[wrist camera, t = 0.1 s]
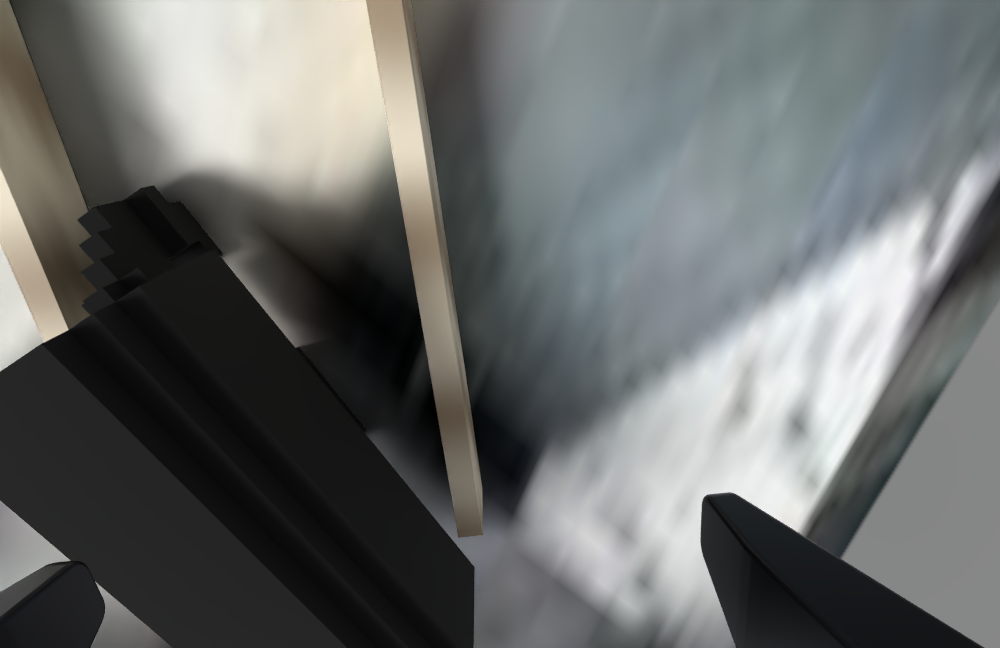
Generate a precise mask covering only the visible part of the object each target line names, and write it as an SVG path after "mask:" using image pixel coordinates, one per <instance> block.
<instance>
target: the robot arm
mask: <svg viewBox="0 0 1000 648" xmlns="http://www.w3.org/2000/svg"><path fill="white" fill-rule="evenodd" d="M701 548H702V553H703V557H704V560H705V563H706V565H707V568H708V571H709V574H710V576H711V579H712V582H713V585H714V587H715V590H716V593H717V596H718V599H719V601H720V604H721V607H722V610H723V612H724V615H725V618H726V621H727V623H728V626H729V629H730V632H731V634H732V637H733V640H734V643H735V646H736V648H984V647H982V646H981V645H979V644H977V643H976V642H974V641H973V640H971V639H969V638H968V637H966V636H964V635H963V634H961V633H960V632H958V631H956V630H955V629H953V628H951V627H950V626H948V625H947V624H945V623H943V622H942V621H940V620H939V619H937V618H935V617H934V616H932V615H931V614H929V613H927V612H925V611H924V610H922V609H921V608H919V607H918V606H916V605H914V604H913V603H911V602H910V601H908V600H906V599H905V598H903V597H901V596H900V595H898V594H897V593H895V592H893V591H892V590H890V589H888V588H887V587H885V586H884V585H882V584H880V583H879V582H877V581H876V580H874V579H872V578H871V577H869V576H867V575H865V574H864V573H863V572H861V571H859V570H858V569H856V568H854V567H853V566H851V565H849V564H848V563H846V562H845V561H843V560H842V559H840V558H838V557H837V556H835V555H834V554H832V553H830V552H829V551H827V550H825V549H824V548H822V547H821V546H819V545H817V544H816V543H814V542H813V541H811V540H809V539H808V538H806V537H804V536H803V535H801V534H800V533H798V532H796V531H795V530H793V529H792V528H790V527H788V526H787V525H785V524H783V523H782V522H780V521H779V520H777V519H775V518H774V517H772V516H770V515H769V514H767V513H766V512H764V511H762V510H761V509H759V508H758V507H756V506H754V505H753V504H751V503H749V502H748V501H746V500H745V499H743V498H741V497H740V496H738V495H736V494H734V493H719V494H709V495H706V496H705V497H704V498H703V501H702V514H701ZM104 613H105V603H104V600H103V597H102V595H101V593H100V591H99V589H98V587H97V585H96V583H95V581H94V578H93V576H92V574H91V572H90V570H89V568H88V566H87V565H86V564H85V563H83V562H82V561H66V562H57V563H52V564H49V565H46V566H44V567H42V568H41V569H39V570H37V571H36V572H34V573H32V574H30V575H29V576H27V577H25V578H24V579H22V580H20V581H18V582H17V583H15V584H13V585H12V586H10V587H8V588H7V589H5V590H3V591H1V592H0V648H90V647H91V645H92V643H93V640H94V638H95V636H96V634H97V632H98V629H99V627H100V625H101V623H102V620H103V617H104Z"/></svg>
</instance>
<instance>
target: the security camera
mask: <svg viewBox="0 0 1000 648" xmlns="http://www.w3.org/2000/svg"><path fill="white" fill-rule="evenodd" d="M77 221H78V222H79V223H80V224H81V225H82V226H83V227H84V228H85V229H86V231H87V232H88V233H89V234H90V235H91V237H90V238H88V239H87V240H85V241H84V242H83V243H81V244H80V245H79V246H80V247H81V248H82V250H83V251H84V252H85V253H86V254H87V255H88V256H89V257H90V258H91V259H92V261H93V262H94V263H93V264H92V265H90V266H89V267H87V268H86V269H84V270H83V271H82V272H81V273H82V274H83V275H84V277H85V278H86V279H87V280H88V281H89V282H90V283H91V284H92V285H93V286H94V287H95V288H96V290H97V291H96V292H95V293H93V294H92V295H90V296H89V297H87V298H86V299H85V300H83V302H84V304H83V305H81V306H82V307H83V308H84V309H85V310H86V311H87V312H88V313H89V314H90V316H88V317H87V318H85V319H84V320H82V321H81V322H79V323H78V324H76V325H75V326H73V327H72V328H70V329H69V330H67V331H66V332H64V333H62V334H60V335H58V336H56V337H54V338H52V339H50V340H48V341H46V342H44V343H42V344H41V345H39V346H38V347H36V348H35V349H33V350H32V351H30V352H29V353H27V354H26V355H24V356H23V357H21V358H20V359H18V360H17V361H15V362H14V363H12V364H11V365H9V366H8V367H7V368H5V369H4V370H2V371H1V372H0V501H2V502H3V503H4V504H5V505H6V506H8V507H9V508H10V509H11V510H12V511H13V512H15V513H16V514H17V515H18V516H19V517H20V518H22V519H23V520H24V521H25V522H26V523H27V524H29V525H30V526H31V527H32V528H33V529H35V530H36V531H37V532H38V533H39V534H40V535H42V536H43V537H44V538H45V539H46V540H47V541H49V542H50V543H51V544H52V545H53V546H54V547H56V548H57V549H58V550H59V551H60V552H62V553H63V554H64V555H65V556H66V557H67V558H69V559H70V560H71V561H82V562H83V563H85V564H86V565H87V566H88V568H89V570H90V572H91V574H92V576H93V578H94V581H96V582H97V583H98V584H99V585H100V586H101V587H103V588H104V589H105V590H106V591H107V592H108V593H110V594H111V595H112V596H113V597H114V598H115V599H117V600H118V601H119V602H120V603H121V604H123V605H124V606H125V607H126V608H127V609H128V610H130V611H131V612H132V613H133V614H134V615H135V616H137V617H138V618H139V619H140V620H141V621H142V622H144V623H145V624H146V625H147V626H148V627H150V628H151V629H152V630H153V631H154V632H155V633H157V634H158V635H159V636H160V637H161V638H162V639H164V640H165V641H166V642H167V643H168V644H169V645H171V646H172V647H173V648H473V645H474V566H473V565H472V564H471V562H470V561H469V560H468V559H467V558H466V556H465V555H464V554H463V553H462V551H461V550H460V549H459V548H458V547H457V545H456V544H455V543H454V542H453V540H452V539H451V538H450V537H449V536H448V534H447V533H446V532H445V531H444V529H443V528H442V527H441V526H440V525H439V523H438V522H437V521H436V520H435V518H434V517H433V516H432V515H431V514H430V512H429V511H428V510H427V509H426V507H425V506H424V505H423V504H422V503H421V501H420V500H419V499H418V498H417V496H416V495H415V494H414V493H413V492H412V490H411V489H410V488H409V487H408V485H407V484H406V483H405V482H404V481H403V479H402V478H401V477H400V476H399V474H398V473H397V472H396V471H395V470H394V468H393V467H392V466H391V465H390V463H389V462H388V461H387V460H386V459H385V457H384V456H383V455H382V454H381V452H380V451H379V450H378V449H377V448H376V446H375V445H374V444H373V443H372V441H371V440H370V439H369V438H368V436H367V435H366V434H365V433H364V432H365V427H364V426H363V425H362V424H361V423H360V421H359V420H358V419H357V418H356V416H355V415H354V414H353V413H352V412H351V410H350V409H349V408H348V407H347V405H346V404H345V403H344V402H343V400H342V399H341V398H340V397H339V396H338V394H337V393H336V392H335V391H334V389H333V388H332V387H331V386H330V384H329V383H328V382H327V381H326V380H325V378H324V377H323V376H322V375H321V373H320V372H319V371H318V370H317V369H316V367H315V366H314V365H313V364H312V362H311V361H310V360H309V359H308V357H307V356H306V355H305V354H304V353H303V351H302V350H301V349H300V348H299V347H298V348H295V347H294V346H293V345H292V344H291V342H290V341H289V340H288V339H287V337H286V336H285V335H284V334H283V333H282V331H281V330H280V329H279V328H278V326H277V325H276V324H275V323H274V322H273V320H272V319H271V318H270V317H269V315H268V314H267V313H266V312H265V311H264V309H263V308H262V307H261V306H260V304H259V303H258V302H257V301H256V300H255V298H254V297H253V296H252V295H251V293H250V292H249V291H248V290H247V289H246V287H245V286H244V285H243V284H242V282H241V281H240V280H239V279H238V278H237V276H236V275H235V274H234V273H233V271H232V270H231V269H230V268H229V267H228V265H227V264H226V263H225V262H224V260H223V259H222V258H221V257H220V256H219V255H221V254H222V252H221V251H220V249H219V248H218V247H217V246H216V245H215V243H214V242H213V241H212V240H211V238H210V237H209V236H208V235H207V233H206V232H205V231H204V230H203V229H202V227H201V226H200V225H199V224H198V222H197V221H196V220H195V219H194V217H193V216H192V215H191V214H190V213H189V211H188V210H187V209H186V208H185V206H184V205H183V204H182V203H181V202H176V203H172V204H169V203H168V202H167V201H166V200H165V199H164V197H163V196H162V195H161V194H160V192H159V191H158V190H157V189H156V188H155V186H149V187H145V188H141V189H139V190H138V191H137V192H135V193H134V194H132V195H131V196H129V197H128V198H127V199H125V200H123V201H119V202H114V203H110V204H105V205H101V206H97V207H94V208H92V209H91V210H90V211H88V212H87V213H85V214H84V215H83V216H81V217H80V218H79V219H77Z"/></svg>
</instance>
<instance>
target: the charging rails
mask: <svg viewBox="0 0 1000 648" xmlns="http://www.w3.org/2000/svg"><path fill="white" fill-rule="evenodd" d="M366 3H367V8H368V14H369V20H370V26H371V32H372V37H373V43H374V49H375V55H376V61H377V67H378V72H379V78H380V84H381V90H382V96H383V101H384V107H385V113H386V119H387V125H388V130H389V136H390V142H391V148H392V154H393V160H394V165H395V171H396V177H397V183H398V189H399V194H400V200H401V206H402V212H403V218H404V223H405V229H406V235H407V241H408V247H409V253H410V258H411V264H412V270H413V276H414V282H415V287H416V293H417V299H418V305H419V311H420V316H421V322H422V328H423V334H424V340H425V345H426V351H427V357H428V363H429V369H430V375H431V380H432V386H433V392H434V398H435V404H436V409H437V415H438V421H439V427H440V433H441V438H442V444H443V450H444V456H445V462H446V468H447V473H448V479H449V485H450V491H451V497H452V502H453V508H454V514H455V520H456V526H457V531H458V537H467V536H476V535H483V502H482V482H481V475H480V469H479V462H478V455H477V448H476V441H475V434H474V428H473V421H472V414H471V407H470V400H469V393H468V387H467V380H466V373H465V366H464V359H463V353H462V346H461V339H460V332H459V325H458V318H457V312H456V305H455V298H454V291H453V284H452V277H451V271H450V264H449V257H448V250H447V243H446V236H445V230H444V223H443V216H442V209H441V202H440V196H439V189H438V182H437V175H436V168H435V161H434V155H433V148H432V141H431V134H430V127H429V120H428V114H427V107H426V100H425V93H424V86H423V80H422V73H421V66H420V59H419V52H418V45H417V39H416V32H415V25H414V18H413V11H412V4H411V0H366ZM87 212H88V209H87V207H86V204H85V201H84V199H83V196H82V194H81V191H80V188H79V186H78V183H77V180H76V178H75V175H74V172H73V170H72V167H71V164H70V162H69V159H68V156H67V154H66V151H65V148H64V146H63V143H62V140H61V138H60V135H59V132H58V130H57V127H56V124H55V122H54V119H53V116H52V114H51V111H50V108H49V106H48V103H47V100H46V98H45V95H44V92H43V90H42V87H41V84H40V82H39V79H38V76H37V74H36V71H35V68H34V66H33V63H32V60H31V58H30V55H29V52H28V50H27V47H26V45H25V42H24V39H23V37H22V34H21V31H20V29H19V26H18V23H17V21H16V18H15V15H14V13H13V10H12V7H11V5H10V2H9V0H0V244H1V247H2V249H3V251H4V253H5V256H6V258H7V260H8V262H9V265H10V267H11V269H12V271H13V274H14V276H15V278H16V280H17V283H18V285H19V287H20V290H21V292H22V294H23V296H24V299H25V301H26V303H27V305H28V308H29V310H30V312H31V314H32V317H33V319H34V321H35V323H36V326H37V328H38V330H39V333H40V335H41V337H42V339H43V342H46V341H48V340H50V339H52V338H54V337H56V336H58V335H60V334H62V333H64V332H66V331H67V330H69V329H70V328H72V327H73V326H75V325H76V324H78V323H79V322H81V321H82V320H84V319H85V318H87V317H88V316H90V314H89V313H88V312H87V311H86V310H85V309H84V308H83V307H82V306H81V305H83V304H84V302H83V300H85V299H86V298H87V297H89V296H90V295H92V294H93V293H95V292H96V291H97V290H96V288H95V287H94V286H93V285H92V284H91V283H90V282H89V281H88V280H87V279H86V278H85V277H84V275H83V274H82V273H81V272H82V271H83V270H84V269H86V268H87V267H89V266H90V265H92V264H93V263H94V262H93V261H92V259H91V258H90V257H89V256H88V255H87V254H86V253H85V252H84V251H83V250H82V248H81V247H80V246H79V245H80V244H81V243H83V242H84V241H85V240H87V239H88V238H90V237H91V235H90V234H89V233H88V232H87V231H86V229H85V228H84V227H83V226H82V225H81V224H80V223H79V222H78V221H77V219H79V218H80V217H81V216H83V215H84V214H85V213H87Z"/></svg>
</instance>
